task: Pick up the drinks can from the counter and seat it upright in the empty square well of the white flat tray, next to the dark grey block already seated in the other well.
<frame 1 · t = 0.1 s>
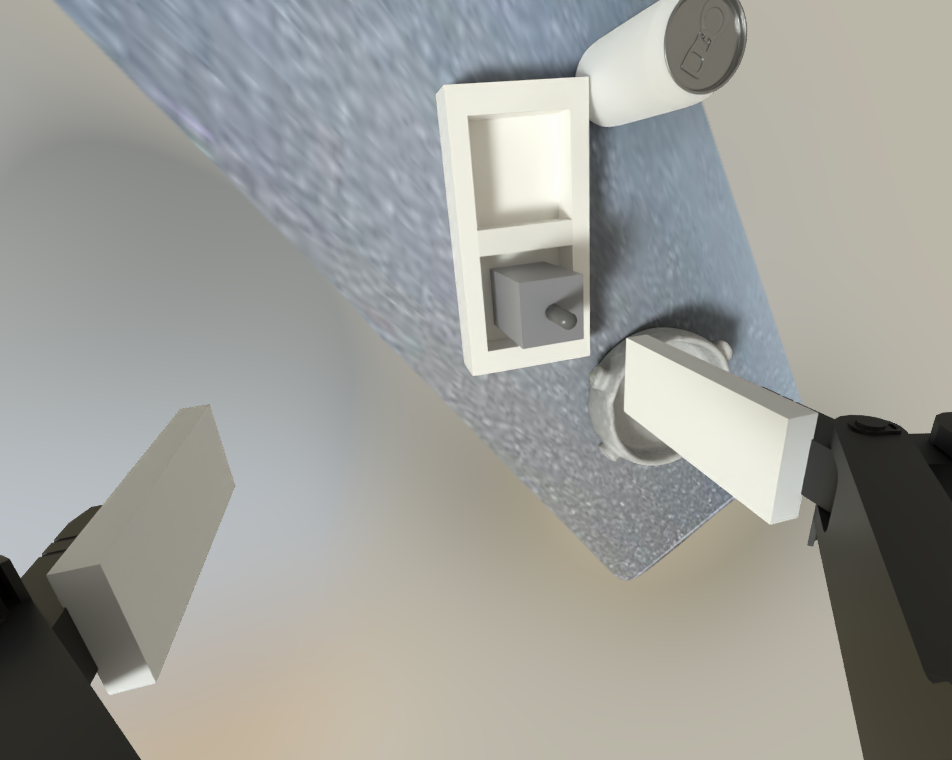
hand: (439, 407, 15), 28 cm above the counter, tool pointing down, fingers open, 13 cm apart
can: (607, 84, 40), on the counter
white flat tray: (513, 235, 42), on the counter
seated block: (518, 293, 43), resting on white flat tray
dish: (638, 386, 51), on the counter
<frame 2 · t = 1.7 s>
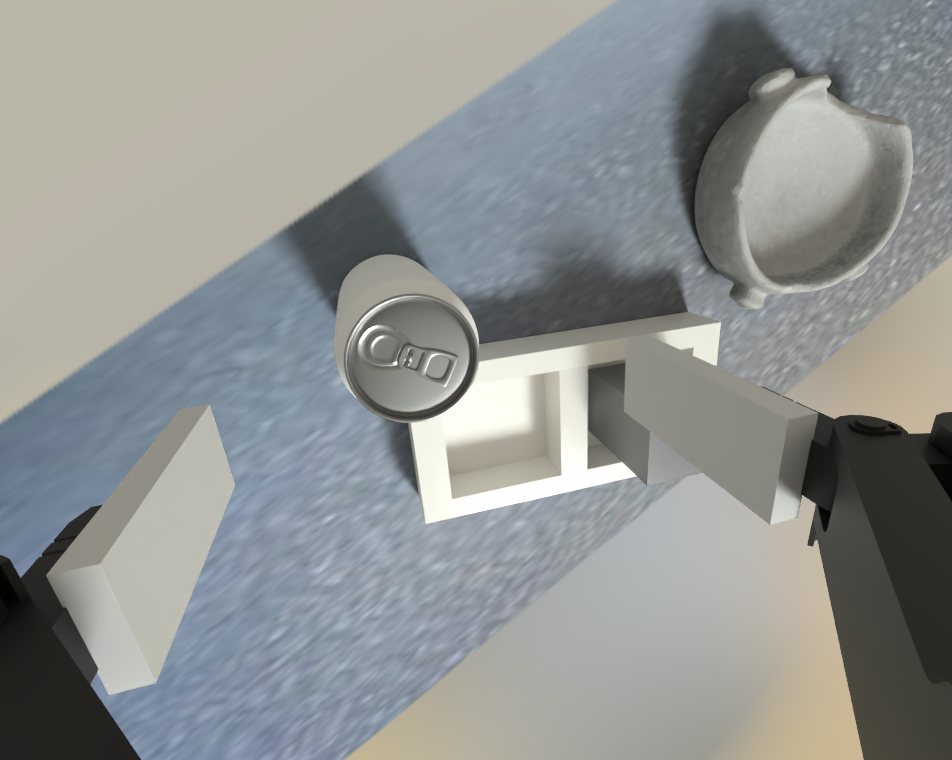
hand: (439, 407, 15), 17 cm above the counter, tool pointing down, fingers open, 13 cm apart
can: (389, 304, 31), on the counter
white flat tray: (554, 403, 36), on the counter
seated block: (618, 394, 37), resting on white flat tray
dish: (764, 199, 35), on the counter
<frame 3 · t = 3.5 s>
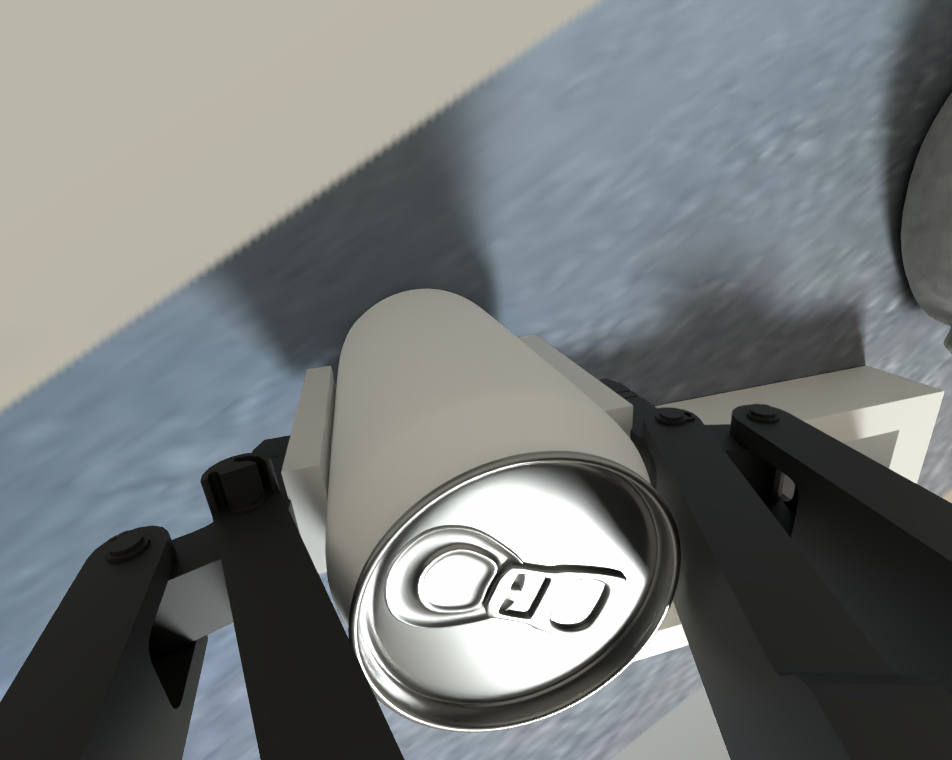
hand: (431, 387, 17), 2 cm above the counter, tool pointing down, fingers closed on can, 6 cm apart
can: (423, 367, 19), on the counter, touching gripper
white flat tray: (663, 503, 24), on the counter
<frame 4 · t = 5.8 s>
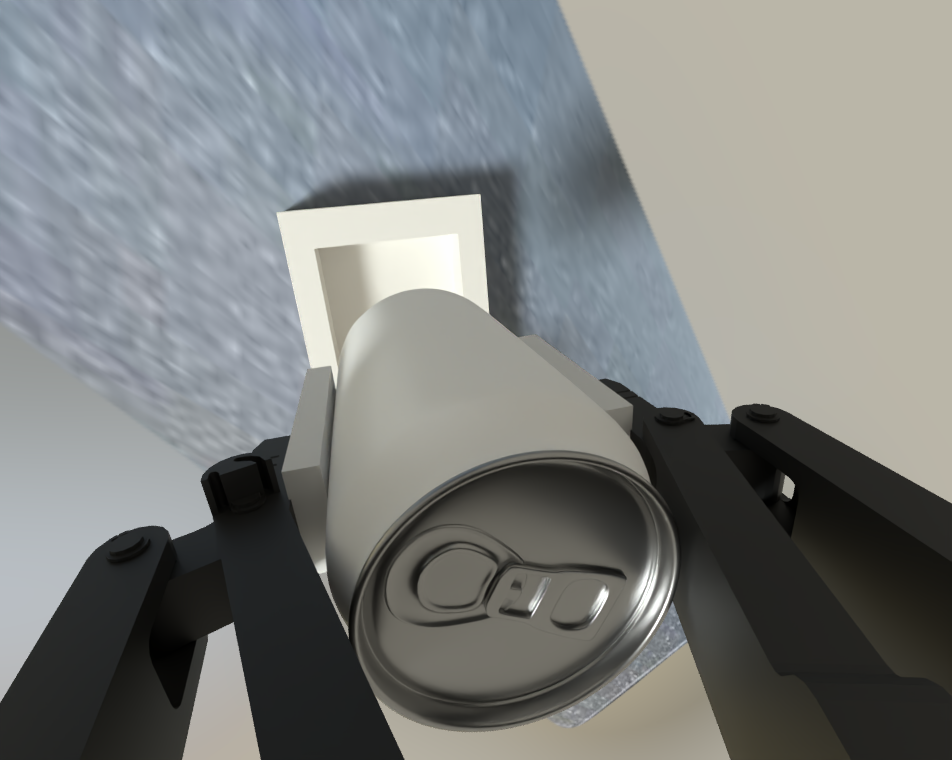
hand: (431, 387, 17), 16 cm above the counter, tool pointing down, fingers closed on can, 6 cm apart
can: (423, 367, 19), point 14 cm above the counter, touching gripper
white flat tray: (403, 370, 33), on the counter
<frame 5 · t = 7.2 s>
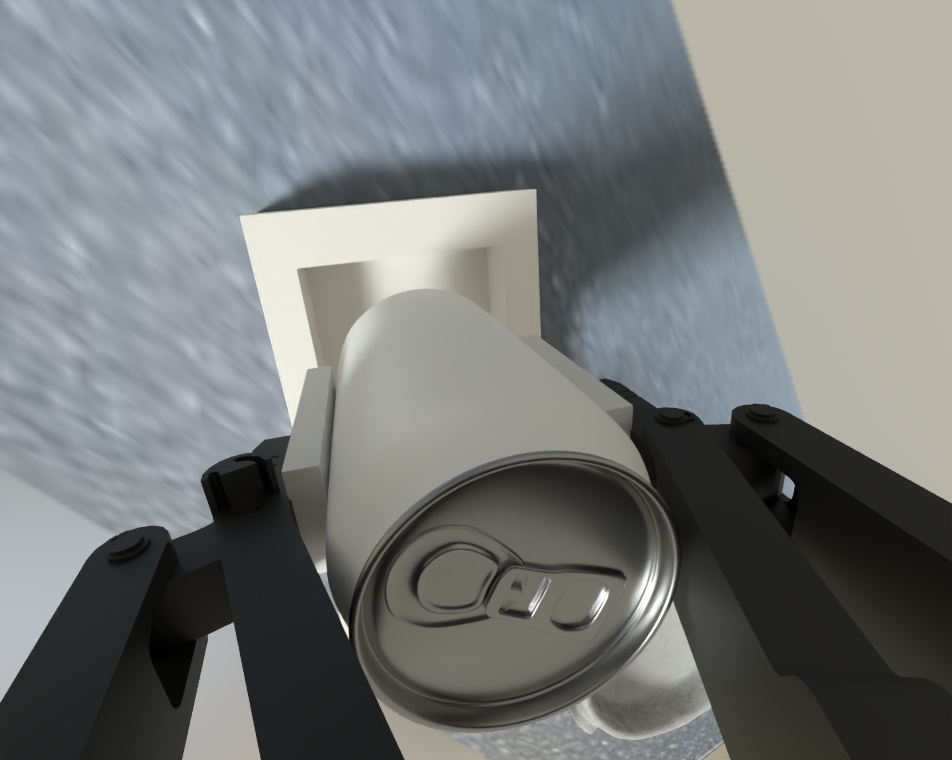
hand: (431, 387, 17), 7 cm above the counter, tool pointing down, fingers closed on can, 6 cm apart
can: (423, 367, 19), point 5 cm above the counter, touching gripper
white flat tray: (420, 424, 25), on the counter
dish: (629, 600, 34), on the counter
when the fingers open (4 cm above the counter, at t = 8.2 s): can drops 1 cm, resting on white flat tray.
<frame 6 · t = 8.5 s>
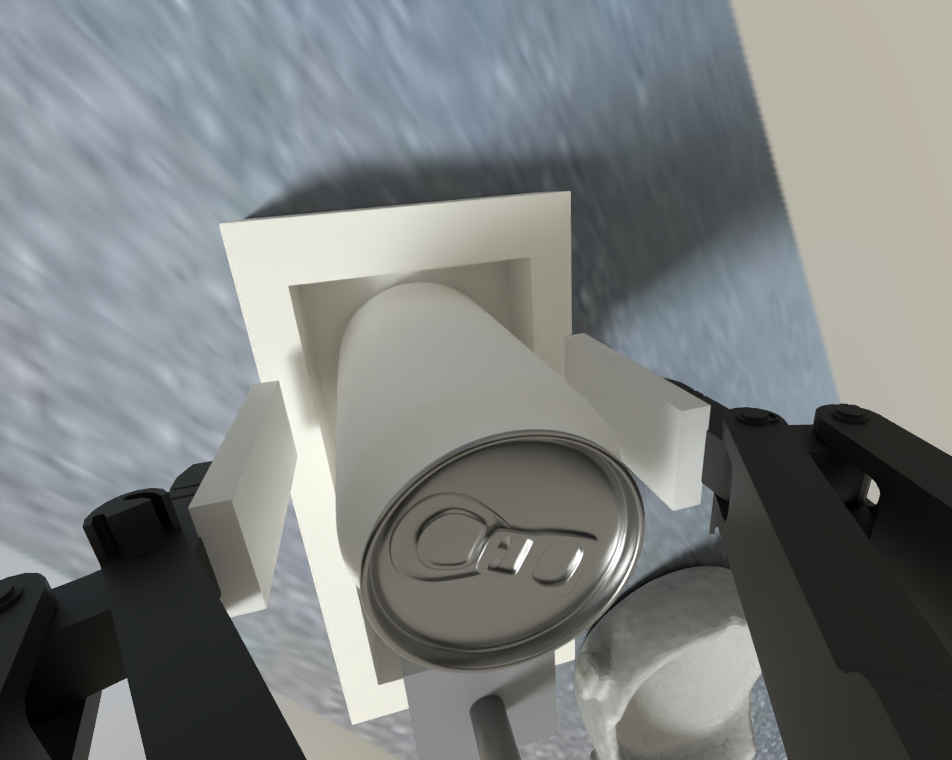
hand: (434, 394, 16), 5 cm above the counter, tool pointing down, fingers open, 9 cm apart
can: (418, 356, 20), point 1 cm above the counter, touching white flat tray
white flat tray: (430, 456, 22), on the counter
seated block: (444, 551, 24), resting on white flat tray
dish: (656, 641, 31), on the counter
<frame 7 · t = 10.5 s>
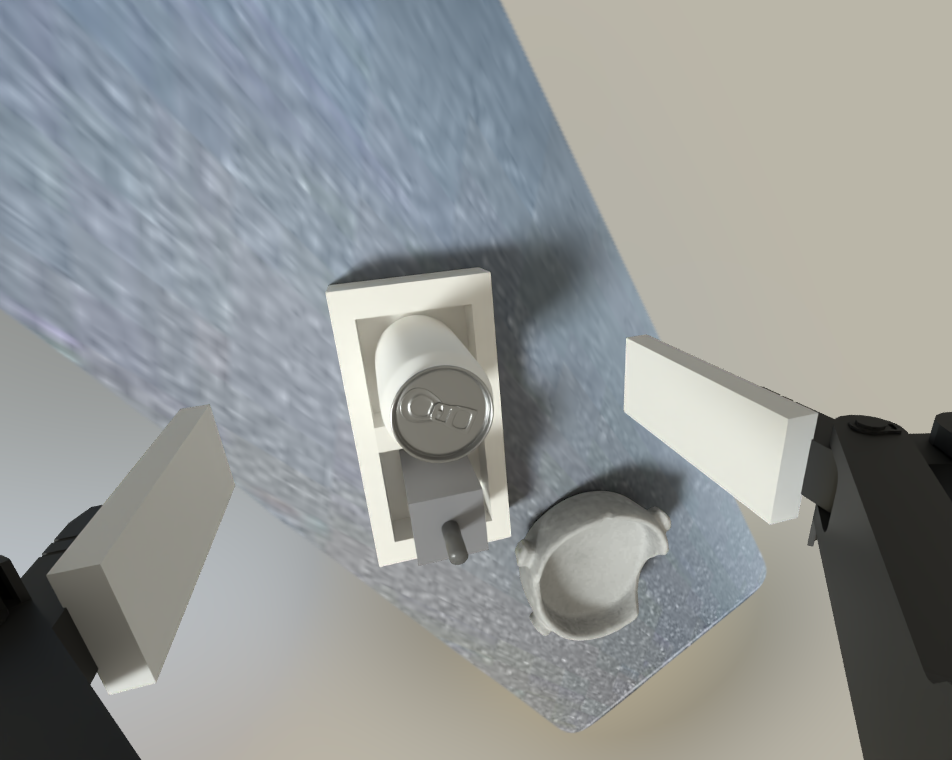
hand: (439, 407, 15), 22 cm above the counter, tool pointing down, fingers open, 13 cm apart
can: (417, 354, 37), resting on white flat tray
white flat tray: (424, 413, 39), on the counter
seated block: (433, 470, 40), resting on white flat tray
dish: (575, 545, 48), on the counter
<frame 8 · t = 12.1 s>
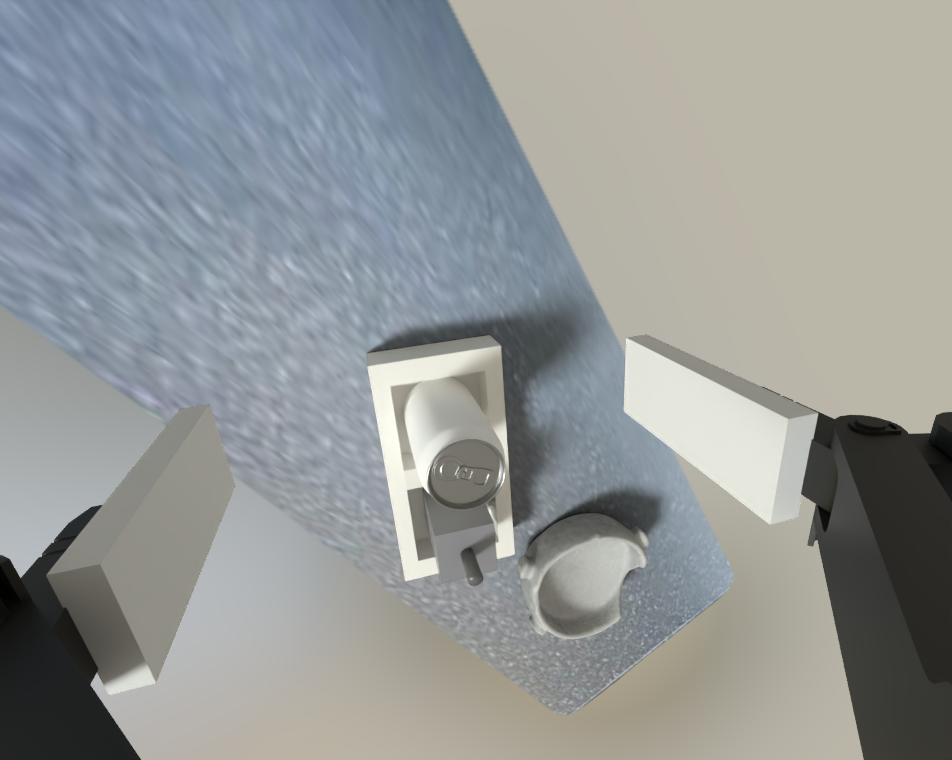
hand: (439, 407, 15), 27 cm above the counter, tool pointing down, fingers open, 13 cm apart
can: (437, 406, 44), resting on white flat tray
white flat tray: (442, 452, 46), on the counter
seated block: (449, 499, 48), resting on white flat tray
dish: (568, 558, 56), on the counter
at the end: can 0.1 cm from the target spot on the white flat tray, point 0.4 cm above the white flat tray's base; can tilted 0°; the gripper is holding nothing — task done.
